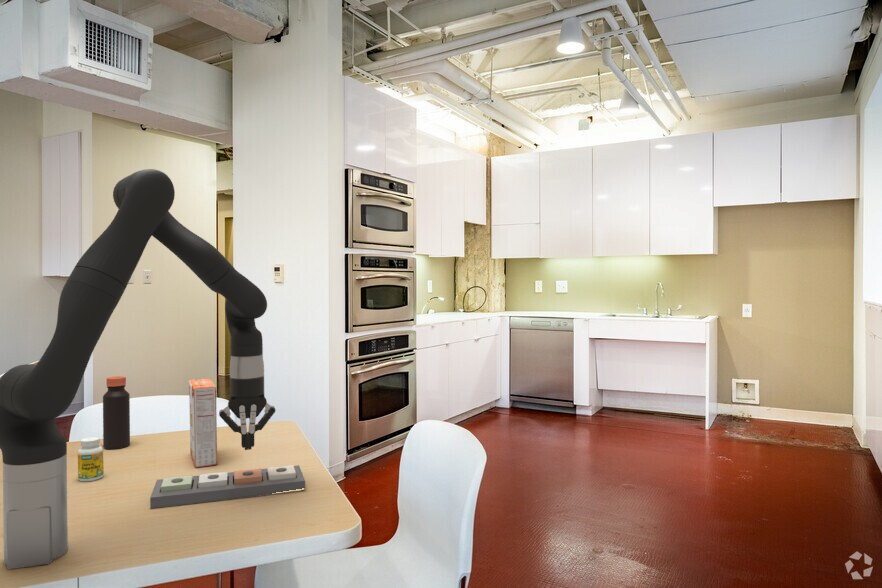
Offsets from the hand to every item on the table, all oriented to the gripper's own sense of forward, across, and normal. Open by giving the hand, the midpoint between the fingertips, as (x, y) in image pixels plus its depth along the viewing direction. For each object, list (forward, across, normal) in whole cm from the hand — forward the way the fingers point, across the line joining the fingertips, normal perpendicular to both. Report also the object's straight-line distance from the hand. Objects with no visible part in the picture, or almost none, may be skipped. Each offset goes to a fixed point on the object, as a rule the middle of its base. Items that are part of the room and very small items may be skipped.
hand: (248, 448), depth 137 cm
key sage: (+7, -15, 0) cm, 17 cm away
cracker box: (+10, -11, +27) cm, 30 cm away
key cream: (+8, +7, 0) cm, 11 cm away
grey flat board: (+9, -4, 0) cm, 10 cm away
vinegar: (+9, -35, +49) cm, 61 cm away
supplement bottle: (+9, -36, +20) cm, 42 cm away
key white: (+7, -8, 0) cm, 11 cm away
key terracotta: (+8, 0, 0) cm, 8 cm away
